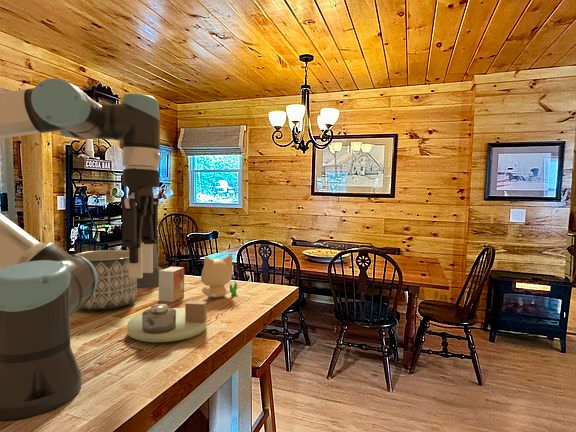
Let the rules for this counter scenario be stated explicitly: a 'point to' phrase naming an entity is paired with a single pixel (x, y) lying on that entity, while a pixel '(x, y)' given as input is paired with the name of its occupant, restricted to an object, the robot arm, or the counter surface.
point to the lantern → (150, 278)
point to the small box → (171, 284)
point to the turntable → (187, 324)
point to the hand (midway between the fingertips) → (141, 274)
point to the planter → (111, 279)
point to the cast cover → (159, 319)
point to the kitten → (217, 276)
